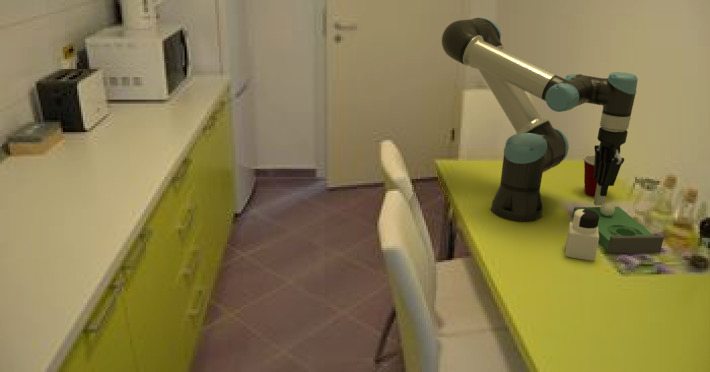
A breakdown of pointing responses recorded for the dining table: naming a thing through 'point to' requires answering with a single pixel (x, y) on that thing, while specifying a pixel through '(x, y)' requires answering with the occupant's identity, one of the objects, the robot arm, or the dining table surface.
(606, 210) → the ball
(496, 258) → the dining table surface
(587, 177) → the plastic cup
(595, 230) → the medicine bottle
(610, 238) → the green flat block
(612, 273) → the dining table surface
